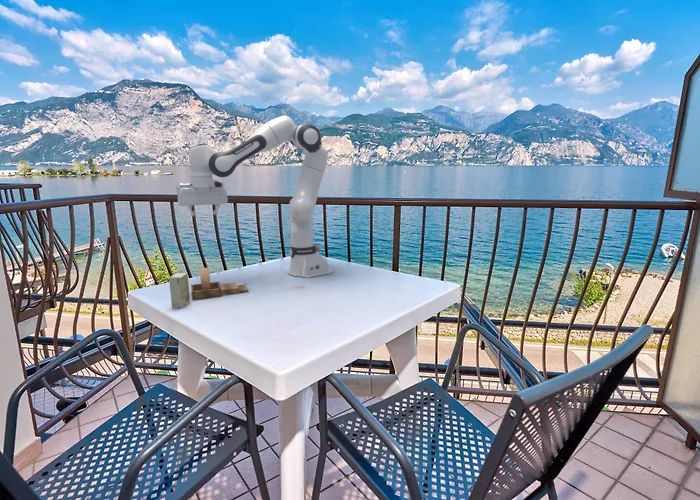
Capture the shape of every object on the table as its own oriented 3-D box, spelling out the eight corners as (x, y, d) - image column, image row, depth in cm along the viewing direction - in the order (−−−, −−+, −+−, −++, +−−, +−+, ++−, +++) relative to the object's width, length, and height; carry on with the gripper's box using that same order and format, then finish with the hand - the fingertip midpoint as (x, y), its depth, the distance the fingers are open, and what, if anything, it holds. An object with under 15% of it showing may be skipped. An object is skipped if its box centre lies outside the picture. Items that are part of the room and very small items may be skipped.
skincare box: (182, 308, 132) (179, 277, 129) (171, 308, 132) (168, 277, 129) (190, 302, 138) (188, 272, 135) (179, 302, 138) (176, 272, 135)
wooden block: (210, 291, 149) (208, 267, 147) (211, 293, 146) (209, 269, 143) (201, 292, 147) (199, 268, 145) (202, 295, 144) (199, 270, 142)
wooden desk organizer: (245, 286, 158) (244, 278, 157) (249, 293, 149) (248, 285, 148) (191, 292, 149) (191, 284, 148) (192, 300, 140) (191, 292, 139)
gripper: (177, 184, 144) (180, 217, 147) (227, 183, 156) (229, 214, 159) (174, 183, 149) (177, 215, 152) (223, 182, 161) (225, 213, 164)
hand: (204, 215), depth 156 cm, fingers open, 8 cm apart
